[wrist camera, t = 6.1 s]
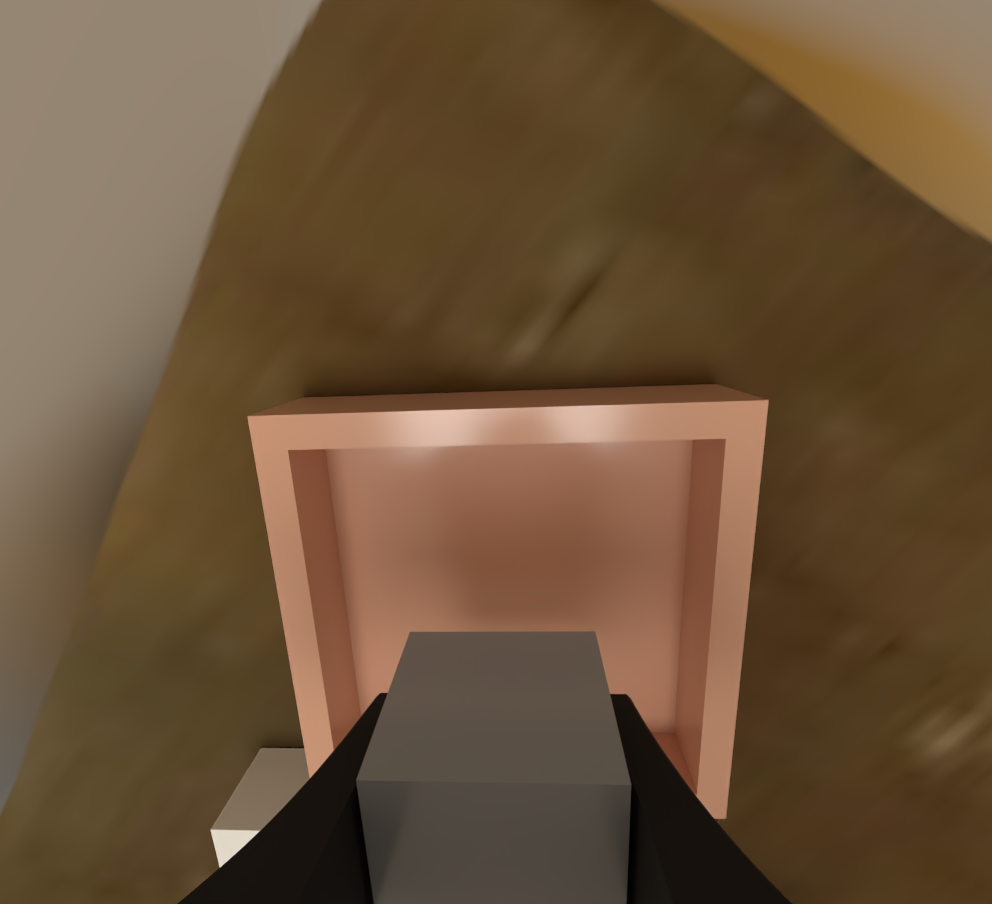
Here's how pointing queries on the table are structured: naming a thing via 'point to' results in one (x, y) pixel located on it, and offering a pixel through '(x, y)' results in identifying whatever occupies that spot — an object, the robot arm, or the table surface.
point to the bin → (520, 543)
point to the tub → (259, 798)
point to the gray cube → (497, 774)
